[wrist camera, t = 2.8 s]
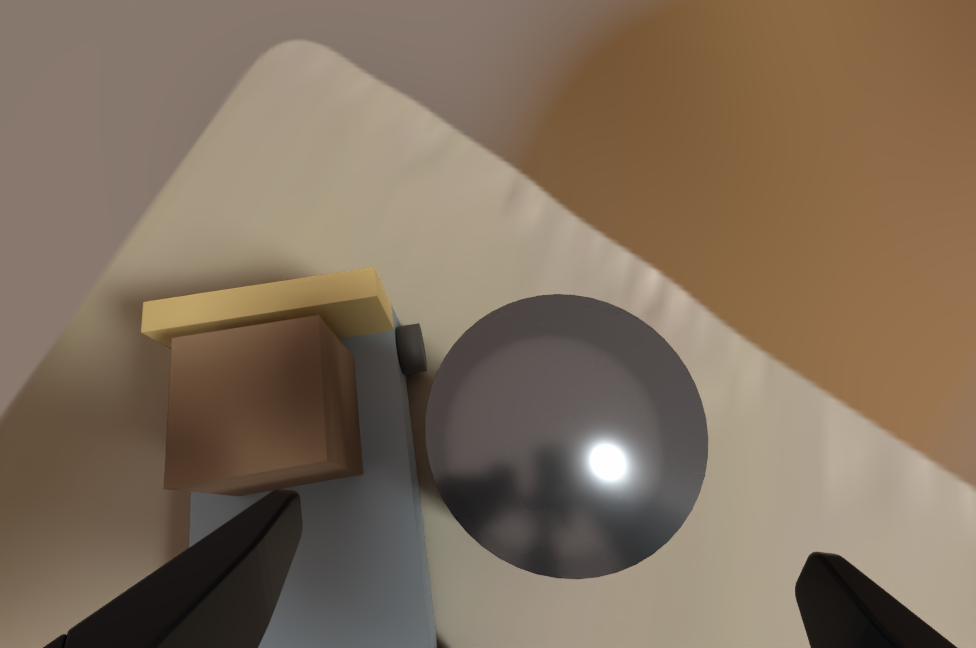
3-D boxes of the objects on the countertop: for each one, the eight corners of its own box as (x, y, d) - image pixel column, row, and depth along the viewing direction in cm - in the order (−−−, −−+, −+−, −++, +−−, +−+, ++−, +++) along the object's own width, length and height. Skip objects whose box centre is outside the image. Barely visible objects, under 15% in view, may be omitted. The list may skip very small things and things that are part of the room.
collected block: (363, 474, 17) (326, 460, 13) (238, 496, 16) (164, 489, 13) (353, 357, 18) (318, 315, 14) (238, 376, 18) (171, 337, 14)
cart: (477, 743, 15) (472, 833, 11) (183, 804, 15) (53, 925, 11) (420, 319, 20) (401, 262, 16) (198, 354, 20) (114, 306, 15)
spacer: (600, 442, 19) (734, 346, 8) (562, 566, 17) (668, 631, 7) (488, 399, 19) (485, 261, 9) (442, 515, 18) (377, 507, 8)
